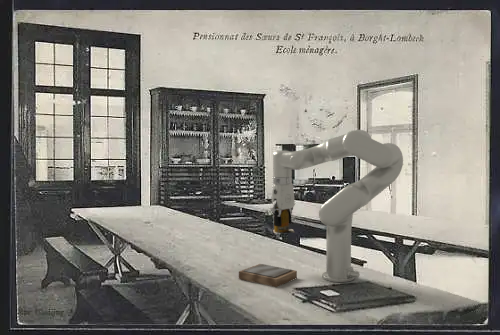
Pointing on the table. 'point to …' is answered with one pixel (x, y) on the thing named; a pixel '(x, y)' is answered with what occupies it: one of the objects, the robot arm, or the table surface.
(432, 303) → the table surface
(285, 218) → the condiment
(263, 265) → the tray
